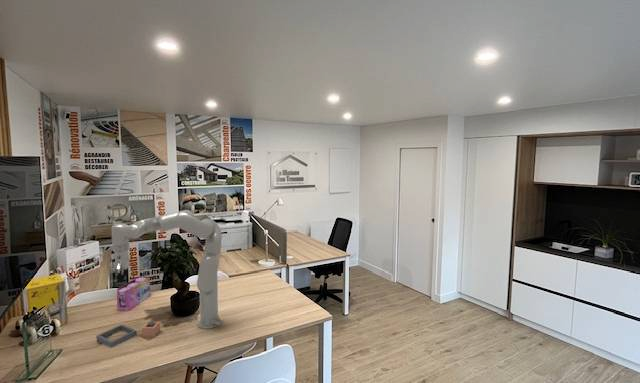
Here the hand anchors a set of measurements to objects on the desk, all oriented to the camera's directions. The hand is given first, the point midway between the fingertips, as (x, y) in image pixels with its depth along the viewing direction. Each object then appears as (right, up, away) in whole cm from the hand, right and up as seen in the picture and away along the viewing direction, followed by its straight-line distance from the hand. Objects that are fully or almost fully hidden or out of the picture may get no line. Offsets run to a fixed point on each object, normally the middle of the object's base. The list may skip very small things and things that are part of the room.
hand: (122, 278), depth 177 cm
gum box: (-14, -26, +38) cm, 48 cm away
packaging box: (-48, -28, +10) cm, 57 cm away
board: (+16, -30, -1) cm, 34 cm away
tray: (0, -30, -5) cm, 31 cm away
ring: (+16, -29, -1) cm, 33 cm away
